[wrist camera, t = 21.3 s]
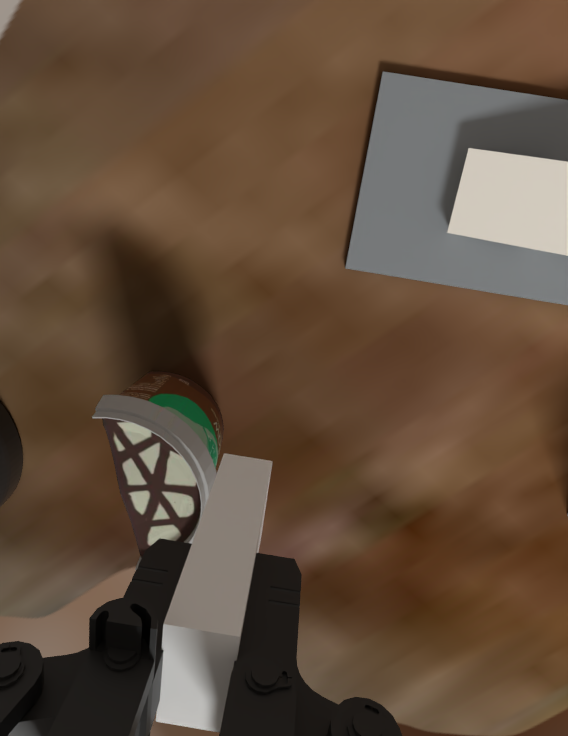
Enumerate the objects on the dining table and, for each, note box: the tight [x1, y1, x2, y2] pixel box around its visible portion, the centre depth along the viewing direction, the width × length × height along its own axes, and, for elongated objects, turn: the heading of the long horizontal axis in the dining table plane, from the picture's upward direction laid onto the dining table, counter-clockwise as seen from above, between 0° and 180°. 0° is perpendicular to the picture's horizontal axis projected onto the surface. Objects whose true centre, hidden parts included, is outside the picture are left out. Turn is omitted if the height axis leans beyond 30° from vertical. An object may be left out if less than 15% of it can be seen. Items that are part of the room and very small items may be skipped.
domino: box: [447, 148, 568, 256], centre depth 32 cm, size 2×5×10 cm
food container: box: [92, 371, 224, 570], centre depth 38 cm, size 12×6×10 cm, turn 8°
